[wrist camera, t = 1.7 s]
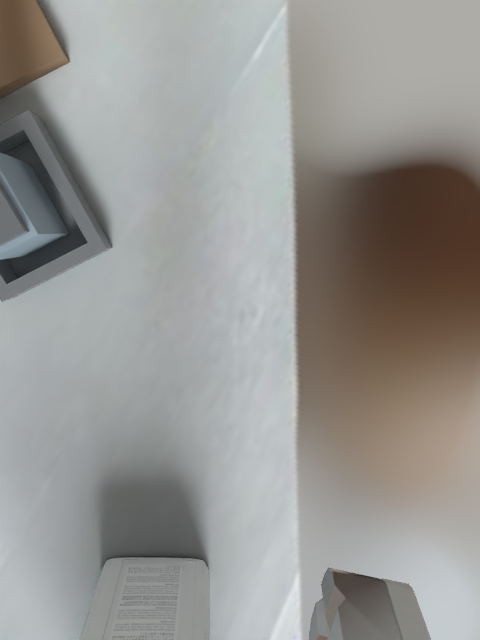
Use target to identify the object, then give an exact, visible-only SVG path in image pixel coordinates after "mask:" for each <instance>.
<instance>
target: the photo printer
mask: <svg viewBox="0 0 480 640" xmlns="http://www.w3.org/2000/svg"><path fill="white" fill-rule="evenodd" d="M80 640H210V574H209V570H208V567H207V566H206V564H205V562H204V561H203V560H199V559H192V558H145V557H126V558H113V559H108V560H107V561H106V562H105V565H104V566H103V568H102V570H101V574H100V577H99V580H98V583H97V586H96V589H95V592H94V595H93V598H92V602H91V605H90V608H89V611H88V614H87V617H86V621H85V624H84V627H83V630H82V633H81V636H80Z"/></svg>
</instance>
